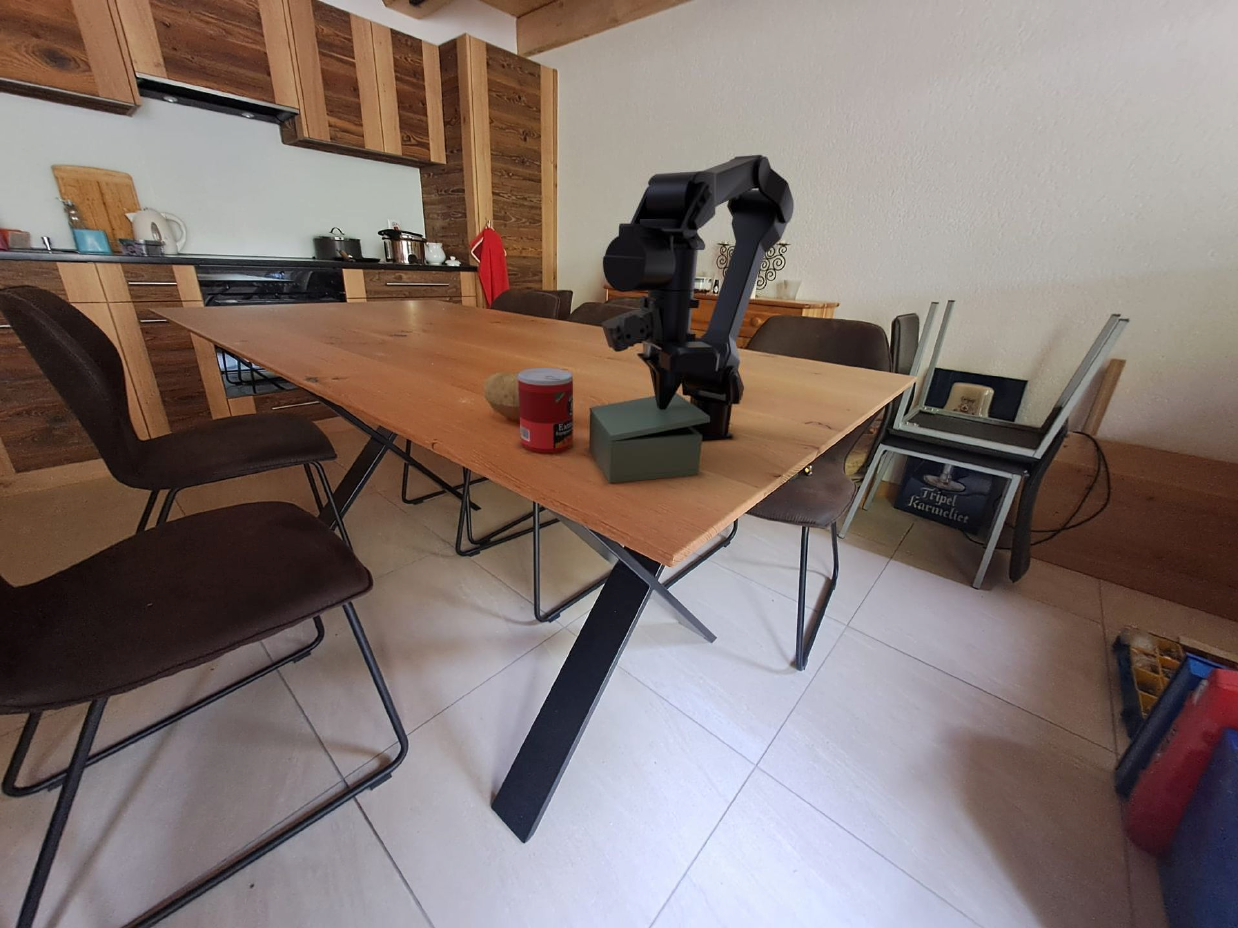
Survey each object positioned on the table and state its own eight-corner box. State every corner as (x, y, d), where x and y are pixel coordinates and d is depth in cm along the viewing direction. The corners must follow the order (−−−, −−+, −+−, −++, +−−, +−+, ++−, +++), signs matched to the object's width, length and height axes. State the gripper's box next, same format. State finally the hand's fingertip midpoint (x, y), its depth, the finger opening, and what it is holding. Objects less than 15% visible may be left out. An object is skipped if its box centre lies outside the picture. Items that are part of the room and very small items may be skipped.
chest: (666, 443, 75) (669, 408, 72) (697, 474, 65) (702, 435, 62) (589, 449, 71) (589, 413, 69) (609, 483, 61) (611, 442, 59)
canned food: (564, 457, 68) (563, 382, 64) (512, 450, 70) (508, 377, 65) (579, 438, 75) (579, 370, 71) (531, 433, 76) (529, 366, 72)
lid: (675, 397, 72) (675, 392, 71) (710, 422, 62) (710, 416, 61) (590, 412, 69) (589, 407, 68) (611, 441, 59) (610, 435, 58)
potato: (555, 433, 77) (554, 385, 73) (475, 424, 79) (471, 377, 76) (573, 415, 85) (573, 372, 82) (500, 407, 88) (498, 365, 85)
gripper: (591, 282, 65) (589, 392, 71) (633, 295, 49) (626, 436, 55) (666, 284, 68) (658, 389, 74) (729, 297, 52) (712, 430, 58)
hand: (661, 408), depth 65 cm, fingers closed, pressing on lid
